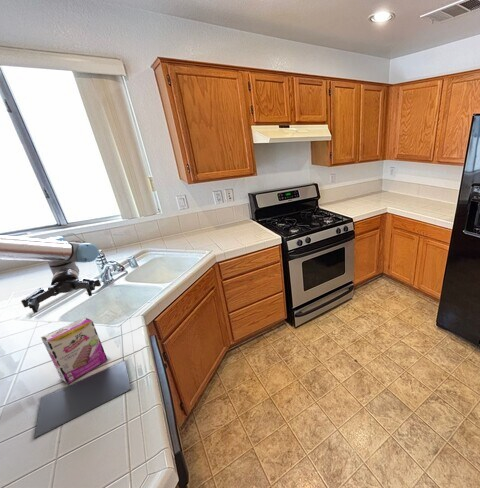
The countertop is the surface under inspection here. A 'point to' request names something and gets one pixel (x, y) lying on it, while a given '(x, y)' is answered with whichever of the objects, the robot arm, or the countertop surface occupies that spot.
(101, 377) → the slate placemat
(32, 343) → the countertop surface
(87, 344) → the candy bar box
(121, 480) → the countertop surface
